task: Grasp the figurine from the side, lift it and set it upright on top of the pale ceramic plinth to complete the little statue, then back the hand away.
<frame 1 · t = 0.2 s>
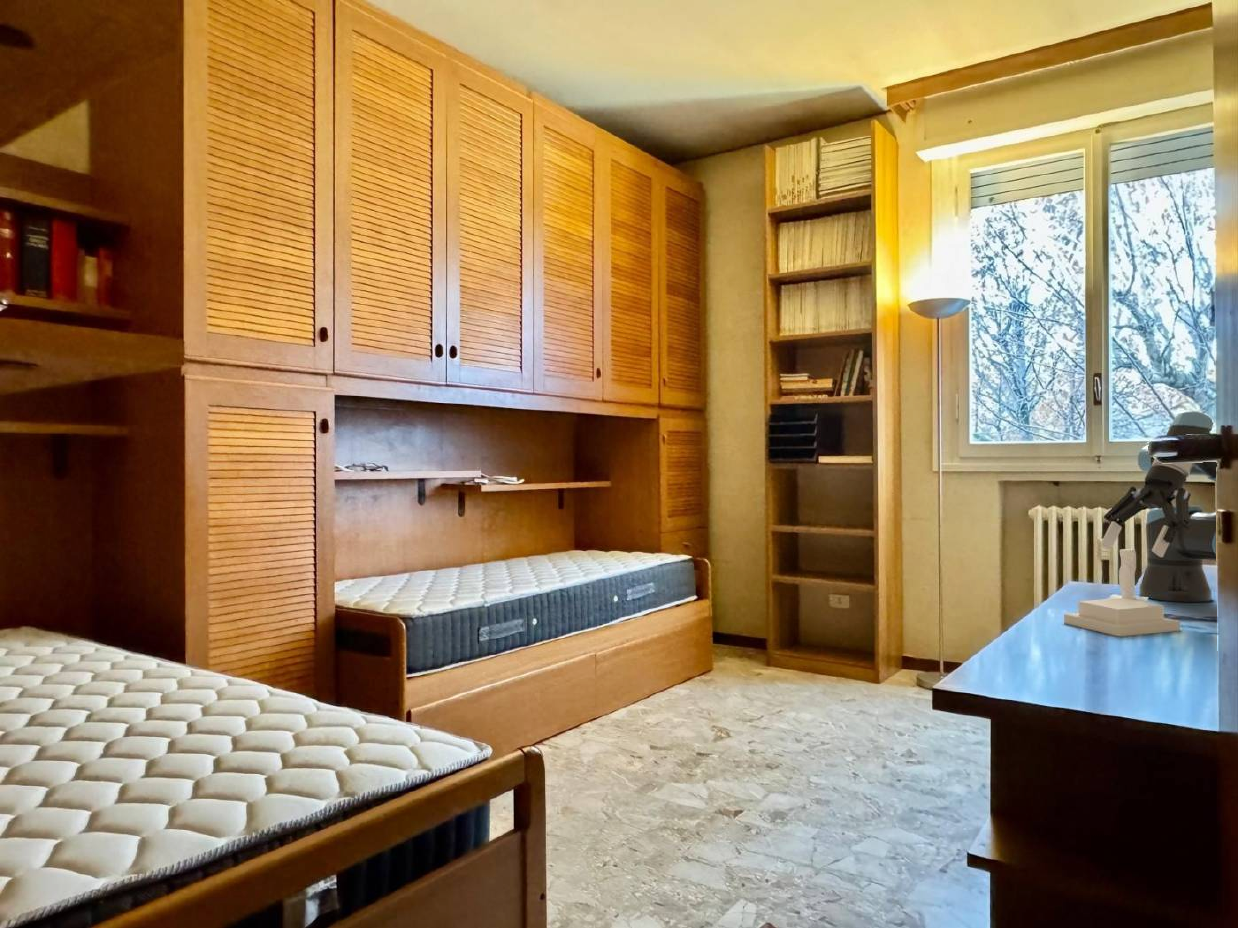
hand: (1130, 550, 184), 15 cm above the table, tool tilted 35°, fingers open, 13 cm apart
plinth: (1120, 626, 172), on the table
figurine: (1128, 614, 185), on the table
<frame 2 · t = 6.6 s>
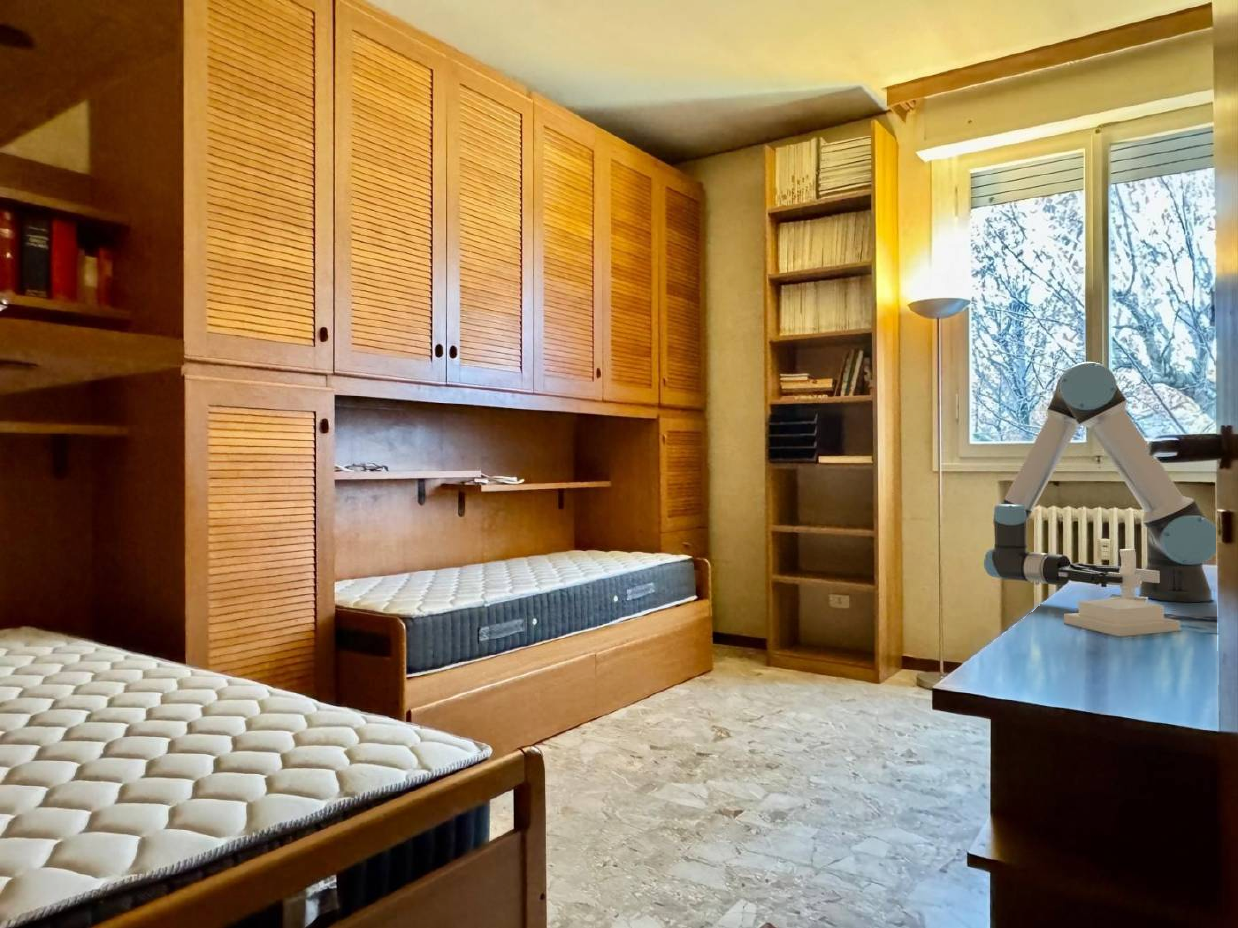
hand: (1149, 579, 181), 9 cm above the table, tool horizontal, fingers closed on figurine, 9 cm apart
figurine: (1128, 614, 185), on the table, touching gripper
when the fingers open (15 cm above the table, at t = 10.8 s): figurine drops 1 cm, resting on plinth.
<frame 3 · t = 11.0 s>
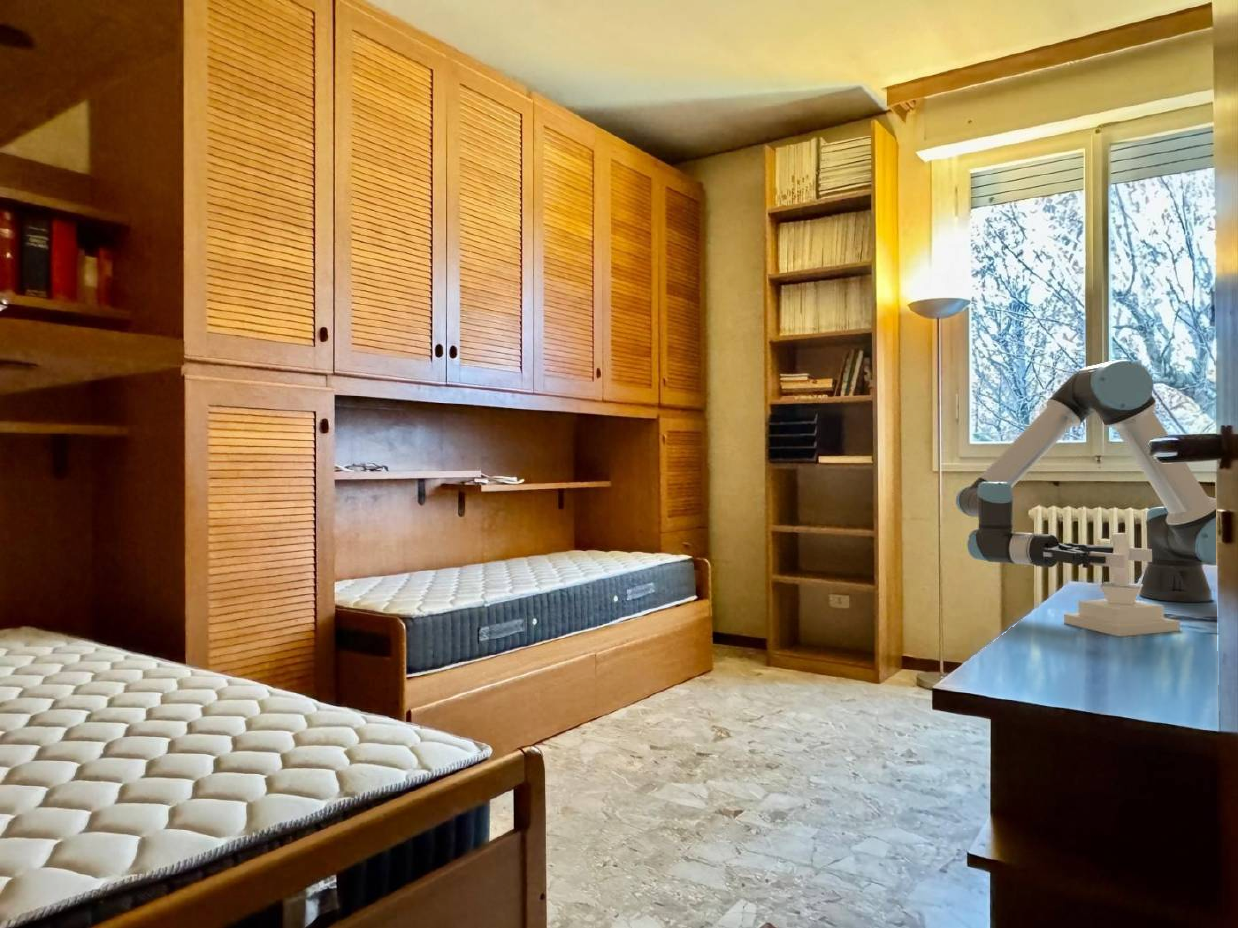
hand: (1138, 558, 169), 15 cm above the table, tool horizontal, fingers open, 12 cm apart
figurine: (1122, 603, 173), point 5 cm above the table, touching gripper, plinth
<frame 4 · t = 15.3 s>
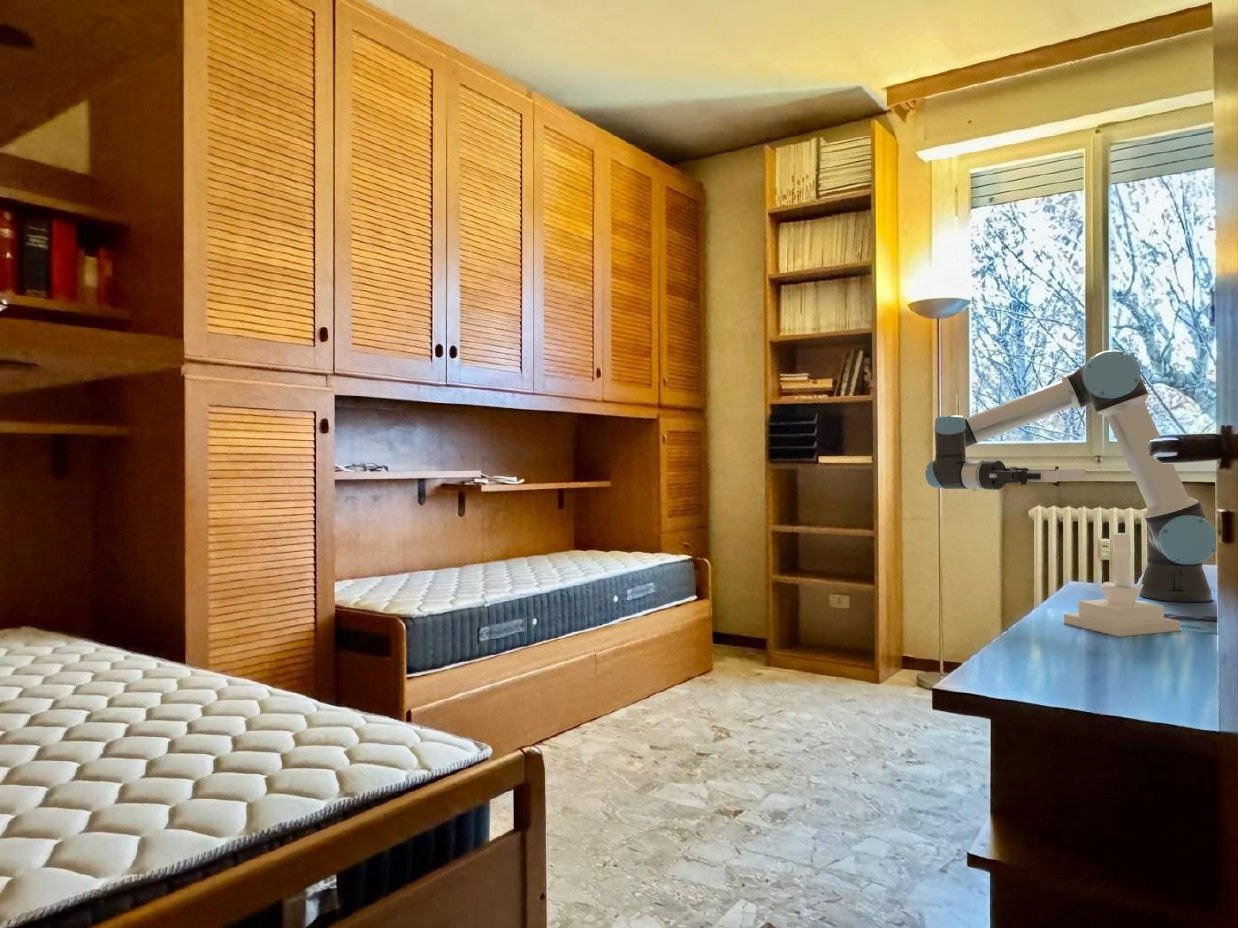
hand: (1070, 475, 189), 32 cm above the table, tool horizontal, fingers open, 13 cm apart
figurine: (1122, 603, 173), point 5 cm above the table, touching plinth
at the end: figurine inside the target area on the plinth (1.5 cm from its centre), point 4.8 cm above the plinth's base; figurine tilted 0°; the gripper is holding nothing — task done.
